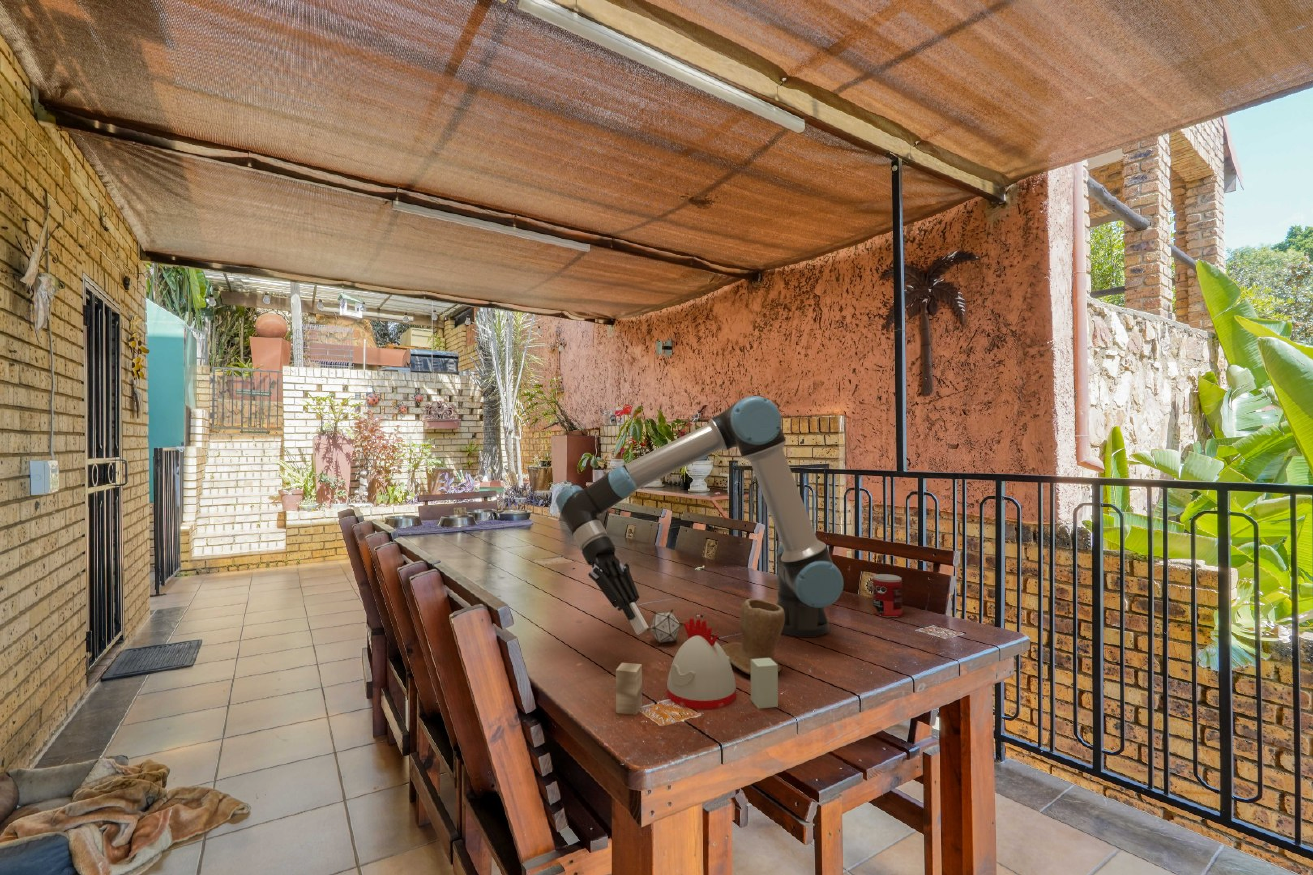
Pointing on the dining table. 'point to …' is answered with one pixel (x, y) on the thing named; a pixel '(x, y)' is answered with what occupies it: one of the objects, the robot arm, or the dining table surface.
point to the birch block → (628, 688)
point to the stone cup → (756, 633)
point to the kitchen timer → (701, 671)
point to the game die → (665, 627)
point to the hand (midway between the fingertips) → (642, 630)
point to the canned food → (887, 595)
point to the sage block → (764, 683)
